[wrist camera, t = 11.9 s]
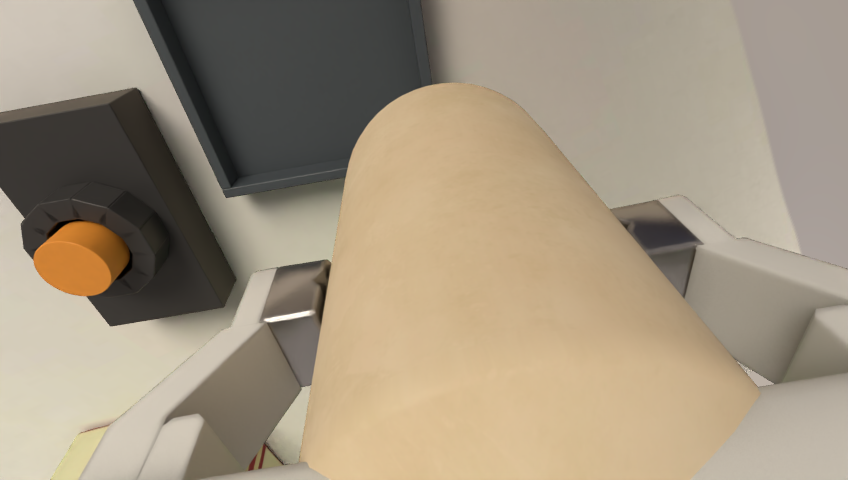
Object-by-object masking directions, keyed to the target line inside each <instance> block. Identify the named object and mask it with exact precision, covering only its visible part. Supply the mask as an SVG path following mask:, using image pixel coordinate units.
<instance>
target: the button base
mask: <svg viewBox="0 0 848 480" xmlns="http://www.w3.org/2000/svg"><path fill="white" fill-rule="evenodd" d="M0 188H1V189H2V190H3V191H4V193H5V194H6V195H7V197H8V198H9V199H10V200H11V202H12V203H13V204H14V205H15V207H16V208H17V209H18V210H19V212H20V213H21V214H22V215H23V217H24V218H25V219H24V220H23V221H22V223H21V230H22V238H23V246H24V249H25V251H26V252H27V253H28V254H29V255H30V257H31V258H32V259H33V260H34V254H35V252H36V250H37V249H38V248H39V247H40V246H41V245H42V244H43V243H45V242H46V241H47V240H48V239H49V238H50V237H52V236H53V235H54V234H55V233H56V232H57V231H59V230H60V229H61V228H62V227H63V226H64V225H66V224H68V223H70V222H74V221H90V222H94V223H98V224H101V225H103V226H104V227H106V228H107V229H109V230H111V231H112V232H114V233H115V234H117V235H118V236H120V237H121V238H122V239H123V240H124V242H125V243H126V245H127V246H128V248H129V252H130V259H129V262H128V264H127V266H126V267H125V268H124V269H123V271H122V272H121V273H120V274H119V275H118V277H117V278H116V279H115V280H114V282H113V283H112V284H111V285H110V286H109V288H108V289H107V290H105V291H104V292H102V293H100V294H97V295H93V296H87V298H88V299H89V300H90V301H91V303H92V304H93V305H94V306H95V308H96V309H97V310H98V312H99V313H100V314H101V315H102V317H103V318H104V319H105V320H106V322H107V323H108V324H109V325H110V326H117V325H123V324H129V323H135V322H141V321H147V320H153V319H158V318H164V317H170V316H176V315H182V314H188V313H194V312H200V311H206V310H212V309H218V308H223V307H224V306H225V304H226V302H227V300H228V297H229V295H230V293H231V291H232V288H233V286H234V284H235V282H236V278H235V276H234V274H233V272H232V271H231V269H230V267H229V265H228V263H227V261H226V259H225V257H224V255H223V253H222V251H221V249H220V247H219V245H218V243H217V242H216V240H215V238H214V236H213V234H212V232H211V230H210V228H209V226H208V224H207V222H206V220H205V218H204V216H203V215H202V213H201V211H200V209H199V207H198V205H197V203H196V201H195V199H194V197H193V195H192V193H191V191H190V189H189V188H188V186H187V184H186V182H185V180H184V178H183V176H182V174H181V172H180V170H179V168H178V166H177V164H176V162H175V160H174V159H173V157H172V155H171V153H170V151H169V149H168V147H167V145H166V143H165V141H164V139H163V137H162V135H161V133H160V132H159V130H158V128H157V126H156V124H155V122H154V120H153V118H152V116H151V114H150V112H149V110H148V108H147V106H146V104H145V103H144V101H143V99H142V97H141V95H140V93H139V91H138V89H137V88H131V89H125V90H120V91H115V92H109V93H104V94H98V95H93V96H87V97H82V98H76V99H71V100H66V101H60V102H55V103H49V104H44V105H38V106H33V107H28V108H22V109H17V110H11V111H6V112H0Z"/></svg>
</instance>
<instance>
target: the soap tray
mask: <svg viewBox="0 0 848 480" xmlns="http://www.w3.org/2000/svg"><path fill="white" fill-rule="evenodd" d="M133 1H134V4H135V6H136V8H137V10H138V12H139V14H140V16H141V18H142V21H143V23H144V25H145V27H146V29H147V31H148V33H149V35H150V38H151V40H152V42H153V44H154V46H155V48H156V50H157V52H158V55H159V57H160V59H161V61H162V63H163V65H164V67H165V69H166V72H167V74H168V76H169V78H170V80H171V82H172V84H173V86H174V89H175V91H176V93H177V95H178V97H179V99H180V101H181V103H182V106H183V108H184V110H185V112H186V114H187V116H188V118H189V120H190V123H191V125H192V127H193V129H194V131H195V133H196V135H197V137H198V140H199V142H200V144H201V146H202V148H203V150H204V152H205V154H206V157H207V159H208V161H209V163H210V165H211V167H212V169H213V171H214V174H215V176H216V178H217V180H218V182H219V184H220V186H221V188H222V189H223V193H224V195H225V197H226V198H229V197H235V196H241V195H247V194H252V193H258V192H264V191H269V190H275V189H281V188H286V187H292V186H298V185H303V184H309V183H315V182H320V181H326V180H332V179H338V178H343V177H346V174H347V169H348V164H349V161H350V158H351V154H352V151H353V149H354V147H355V145H356V143H357V141H358V139H359V137H360V136H361V134H362V133H363V131H364V130H365V128H366V127H367V125H368V124H369V123H370V121H371V120H372V119H373V118H374V117H375V116H376V115H377V114H378V113H379V112H380V111H381V110H382V109H383V108H385V107H386V106H387V105H388V104H389V103H391V102H393V101H394V100H396V99H397V98H399V97H400V96H402V95H405V94H407V93H409V92H411V91H413V90H416V89H419V88H422V87H425V86H429V85H432V79H431V72H430V65H429V58H428V51H427V44H426V37H425V30H424V23H423V16H422V9H421V1H420V0H133Z"/></svg>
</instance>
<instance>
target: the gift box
mask: <svg viewBox="0 0 848 480" xmlns="http://www.w3.org/2000/svg"><path fill="white" fill-rule="evenodd" d="M108 426H110V425H108ZM108 426H104V427H100V428H96V429H92V430H89V431H85V432H81V433H79V434H78V435H77V436H76V438H75V439H74V441H73V443H72V445H71V446H70V448H69V450H68V451H67V453H66V455H65V456H64V458H63V460H62V461H61V463H60V464H59V466H58V468H57V469H56V471H55V473H54V474H53V476H52V478H51V479H50V480H78V479H79V477H80V475H81V474H82V472H83V470H84V468H85V467H86V465H87V463H88V461H89V460H90V458H91V456H92V454H93V453H94V451H95V449H96V447H97V446H98V444H99V442H100V440H101V439H102V437H103V435H104V433H105V432H106V430H107V428H108ZM281 465H283V464H282V463H281V462H280V461H279V460H278V459H277V458H276V456H275V455H274V454H273V453H272V452H271V451H270V450H269V449H268V448H267V447H266V445H265V444H263V446H262V447H261V448H260V450H259V451H258V453H257V454H256V456H255V457H254V458H253V460H252V461H251V463H250V464H249V466H248V467H247V468H246V470H245V471H251V470H257V469H263V468H269V467H275V466H281Z"/></svg>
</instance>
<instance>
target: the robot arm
mask: <svg viewBox="0 0 848 480" xmlns="http://www.w3.org/2000/svg"><path fill="white" fill-rule="evenodd" d="M609 210H610V211H611V212H612V213H613V214H614V215H615V217H616V218H617V219H618V220H619V221H620V223H621V224H622V225H623V226H624V227H625V229H626V230H627V231H628V232H629V233H630V235H631V236H632V237H633V238H634V239H635V241H636V242H637V243H638V244H639V245H640V247H641V248H642V249H643V250H644V251H645V253H646V254H647V255H648V256H649V257H650V259H651V260H652V261H653V262H654V263H655V264H656V266H657V267H658V268H659V269H660V270H661V272H662V273H663V274H664V275H665V276H666V278H667V279H668V280H669V281H670V282H671V284H672V285H673V286H674V287H675V288H676V290H677V291H678V292H679V293H680V294H681V296H682V297H683V298H684V299H685V300H686V302H687V303H688V304H689V305H690V306H691V308H692V309H693V310H694V311H695V312H696V313H697V315H698V316H699V317H700V318H701V319H702V321H703V322H704V323H705V324H706V325H707V327H708V328H709V329H710V330H711V331H712V333H713V334H714V335H715V336H716V337H717V339H718V340H719V341H720V342H721V343H722V345H723V346H724V347H725V348H726V349H727V351H728V352H729V353H730V354H731V355H732V357H733V358H734V359H735V360H736V361H738V362H740V363H741V364H743V365H745V366H746V367H748V368H749V369H751V370H753V371H754V372H756V373H758V374H759V375H761V376H763V377H764V378H766V379H767V380H769V381H771V382H773V383H774V385H768V386H762V387H757V388H758V390H759V391H760V393H761V394H760V396H759V397H758V399H757V400H756V401H755V402H754V404H753V405H752V407H751V408H750V410H749V411H748V413H747V414H746V415H745V417H744V418H743V420H742V421H741V423H740V424H739V426H738V427H737V429H736V430H735V432H734V433H733V434H732V435H731V436H730V437H729V438H728V439H727V441H726V442H725V443H724V444H723V445H722V446H721V447H720V448H719V449H718V451H717V452H716V453H715V454H714V455H713V456H712V457H711V458H710V459H709V460H708V461H707V462H706V463H705V465H704V466H703V467H702V468H701V469H700V470H699V471H698V472H697V473H696V474H695V475H694V476H693V477H692V478H691V479H690V480H848V269H847V268H843V267H840V266H837V265H833V264H830V263H826V262H823V261H820V260H817V259H813V258H810V257H807V256H804V255H800V254H797V253H794V252H791V251H787V250H784V249H781V248H777V247H774V246H771V245H767V244H764V243H761V242H758V241H754V240H751V239H748V238H739V239H735V238H734V237H733V236H732V235H730V234H729V233H728V232H727V231H726V230H725V229H723V228H722V227H721V226H720V225H719V224H717V223H716V222H715V221H714V220H713V219H711V218H710V217H709V216H708V215H707V214H706V213H704V212H703V211H702V210H701V209H700V208H698V207H697V206H696V205H695V204H694V203H693V202H691V201H690V200H689V199H688V198H687V197H685V196H681V195H675V196H670V197H666V198H661V199H656V200H653V201H649V202H644V203H639V204H634V205H628V206H623V207H618V208H613V209H609ZM330 270H331V262H329V261H328V260H321V261H314V262H308V263H302V264H295V265H289V266H283V267H280V268H278V267H276V268H271V269H265V270H260V271H256V272H254V273H253V274H252V275H251V277H250V280H249V282H248V284H247V287H246V289H245V292H244V294H243V297H242V299H241V302H240V304H239V307H238V309H237V312H236V314H235V317H234V319H233V321H232V324H231V326H230V328H227V329H222V330H221V331H220V332H219V333H217V334H216V335H215V336H214V337H213V338H212V339H210V340H209V341H208V342H207V343H206V344H205V345H203V346H202V347H201V348H200V349H199V350H198V351H196V352H195V353H194V354H193V355H192V356H190V357H189V358H188V359H187V360H186V361H185V362H183V363H182V364H181V365H180V366H179V367H178V368H176V369H175V370H174V371H173V372H172V373H171V374H169V375H168V376H167V377H166V378H165V379H164V380H162V381H161V382H160V383H159V384H158V385H156V386H155V387H154V388H153V389H152V390H151V391H149V392H148V393H147V394H146V395H145V396H144V397H142V398H141V399H140V400H139V401H138V402H137V403H135V404H134V405H133V406H132V407H131V408H130V409H128V410H127V411H126V412H125V413H124V414H122V415H121V416H120V417H119V418H118V419H117V420H115V421H114V422H113V423H112V424H111V425H110V426H108V428H107V430H106V432H105V433H104V435H103V437H102V439H101V440H100V442H99V444H98V446H97V447H96V449H95V451H94V453H93V454H92V456H91V458H90V460H89V461H88V463H87V465H86V467H85V468H84V470H83V472H82V474H81V475H80V477H79V479H78V480H330V479H329V478H327V477H325V476H323V475H322V474H320V473H319V472H317V471H315V470H313V469H311V468H309V466H308V463H307V462H299V463H293V464H287V465H281V466H275V467H269V468H263V469H257V470H251V471H245V470H246V468H247V467H248V466H249V464H250V463H251V461H252V460H253V458H254V457H255V456H256V454H257V453H258V451H259V450H260V448H261V447H262V446H263V444H264V443H265V441H266V440H267V438H268V437H269V436H270V434H271V433H272V431H273V430H274V428H275V427H276V426H277V424H278V423H279V421H280V420H281V418H282V417H283V416H284V414H285V413H286V411H287V410H288V408H289V407H290V406H291V404H292V403H293V401H294V400H295V398H296V397H297V396H298V394H299V393H300V391H301V390H302V389H301V387H305V386H310V385H311V384H312V378H313V372H314V366H315V360H316V354H317V348H318V342H319V336H320V330H321V324H322V318H323V312H324V306H325V300H326V294H327V288H328V282H329V276H330Z"/></svg>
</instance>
